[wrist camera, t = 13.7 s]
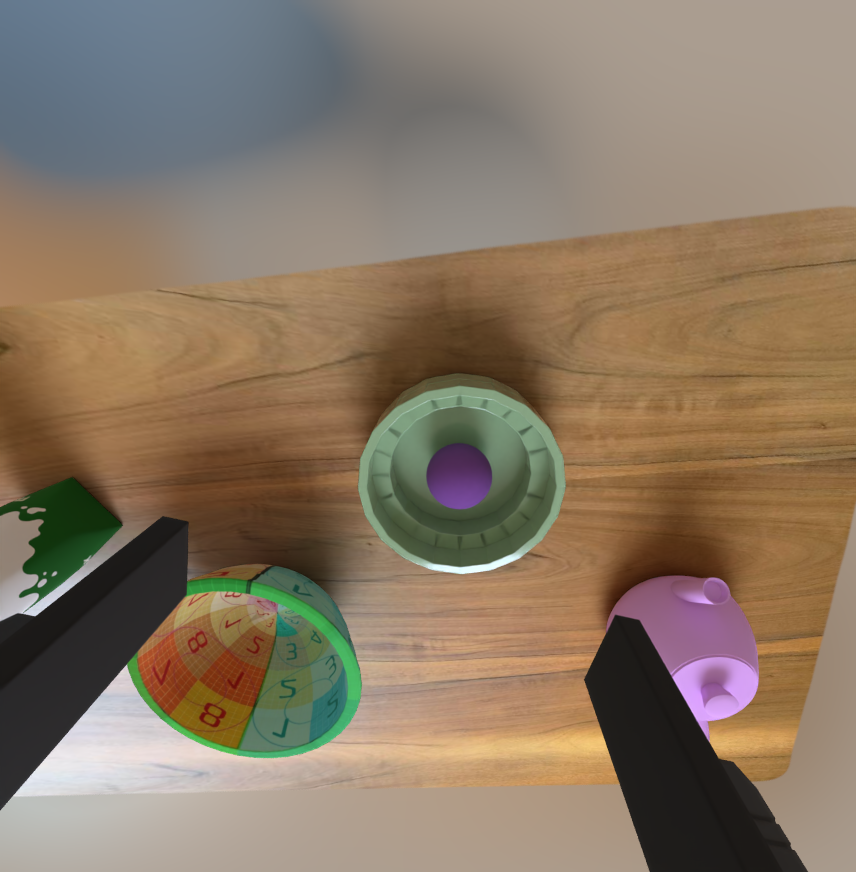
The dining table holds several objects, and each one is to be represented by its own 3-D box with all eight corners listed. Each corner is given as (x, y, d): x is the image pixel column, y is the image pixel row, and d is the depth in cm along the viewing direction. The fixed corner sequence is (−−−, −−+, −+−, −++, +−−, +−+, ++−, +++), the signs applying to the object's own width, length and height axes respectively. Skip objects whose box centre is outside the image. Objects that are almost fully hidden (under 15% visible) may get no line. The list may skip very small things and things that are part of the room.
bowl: (346, 695, 52) (324, 784, 43) (174, 641, 51) (112, 721, 41) (404, 558, 45) (393, 629, 36) (205, 490, 43) (138, 545, 34)
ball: (458, 421, 39) (459, 443, 33) (502, 462, 40) (510, 491, 34) (415, 463, 41) (409, 490, 35) (459, 501, 42) (459, 534, 36)
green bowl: (458, 332, 37) (459, 339, 31) (586, 459, 40) (608, 487, 35) (335, 461, 42) (317, 488, 36) (459, 565, 45) (461, 605, 39)
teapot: (741, 529, 42) (832, 603, 32) (719, 676, 48) (789, 776, 38) (601, 539, 43) (648, 614, 33) (598, 681, 50) (636, 780, 40)
